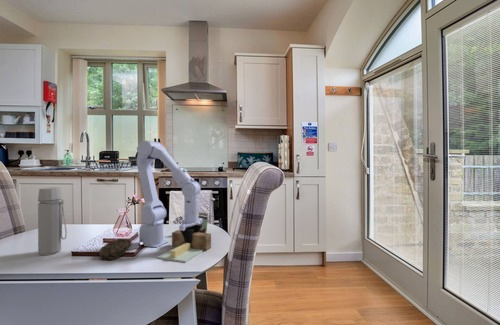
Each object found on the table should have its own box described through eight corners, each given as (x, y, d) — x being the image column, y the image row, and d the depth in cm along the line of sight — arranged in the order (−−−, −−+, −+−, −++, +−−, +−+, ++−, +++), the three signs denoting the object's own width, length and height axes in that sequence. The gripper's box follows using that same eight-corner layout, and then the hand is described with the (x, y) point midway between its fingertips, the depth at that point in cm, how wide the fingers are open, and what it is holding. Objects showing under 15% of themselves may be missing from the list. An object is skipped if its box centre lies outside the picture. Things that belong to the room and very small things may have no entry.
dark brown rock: (116, 248, 107) (116, 236, 107) (136, 251, 104) (136, 239, 104) (90, 258, 97) (90, 245, 96) (111, 262, 93) (111, 248, 93)
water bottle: (33, 257, 97) (33, 189, 97) (43, 250, 105) (43, 187, 105) (62, 254, 100) (62, 188, 100) (70, 248, 107) (70, 186, 107)
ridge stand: (157, 258, 97) (157, 250, 97) (176, 248, 108) (176, 240, 108) (185, 262, 93) (185, 254, 93) (202, 251, 104) (202, 243, 104)
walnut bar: (172, 247, 110) (172, 232, 110) (177, 244, 114) (177, 230, 114) (206, 251, 105) (206, 236, 105) (211, 248, 109) (211, 233, 109)
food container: (213, 233, 130) (213, 213, 130) (207, 236, 124) (208, 215, 124) (190, 231, 133) (190, 211, 133) (184, 234, 127) (184, 214, 127)
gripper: (190, 215, 101) (190, 250, 101) (208, 208, 115) (208, 239, 115) (174, 213, 103) (174, 248, 103) (194, 207, 117) (194, 238, 117)
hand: (191, 243), depth 109 cm, fingers closed on walnut bar, 4 cm apart
